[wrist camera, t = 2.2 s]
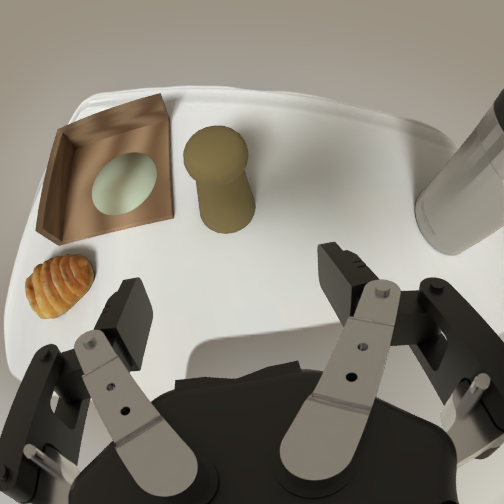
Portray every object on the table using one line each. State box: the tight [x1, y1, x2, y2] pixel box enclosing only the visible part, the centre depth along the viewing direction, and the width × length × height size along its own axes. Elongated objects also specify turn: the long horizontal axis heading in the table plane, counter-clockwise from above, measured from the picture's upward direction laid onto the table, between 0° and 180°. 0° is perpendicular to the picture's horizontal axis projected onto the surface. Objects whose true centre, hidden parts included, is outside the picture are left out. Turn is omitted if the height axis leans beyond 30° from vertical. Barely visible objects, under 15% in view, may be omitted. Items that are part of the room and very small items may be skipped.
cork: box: [183, 126, 255, 234], centre depth 26 cm, size 6×6×11 cm
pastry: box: [25, 254, 94, 319], centre depth 27 cm, size 9×7×4 cm
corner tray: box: [35, 93, 173, 246], centre depth 30 cm, size 16×16×5 cm
